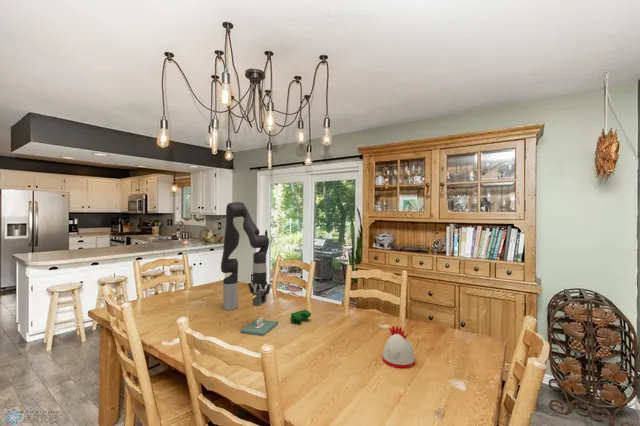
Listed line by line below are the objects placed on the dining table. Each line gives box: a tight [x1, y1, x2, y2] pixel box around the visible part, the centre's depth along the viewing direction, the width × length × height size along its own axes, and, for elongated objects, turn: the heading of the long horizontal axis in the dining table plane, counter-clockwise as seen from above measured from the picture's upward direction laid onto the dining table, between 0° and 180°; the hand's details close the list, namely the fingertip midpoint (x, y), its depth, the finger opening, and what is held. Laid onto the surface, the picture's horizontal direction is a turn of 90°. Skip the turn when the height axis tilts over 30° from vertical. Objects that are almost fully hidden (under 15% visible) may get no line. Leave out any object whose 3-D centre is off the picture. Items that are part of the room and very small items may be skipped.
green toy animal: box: [289, 309, 312, 325], centre depth 183 cm, size 12×6×9 cm, turn 129°
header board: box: [239, 316, 279, 337], centre depth 173 cm, size 18×14×6 cm
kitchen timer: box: [382, 325, 416, 370], centre depth 136 cm, size 14×14×15 cm
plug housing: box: [251, 289, 267, 307], centre depth 171 cm, size 12×4×7 cm, turn 163°
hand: (259, 301), depth 173 cm, fingers closed on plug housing, 3 cm apart
